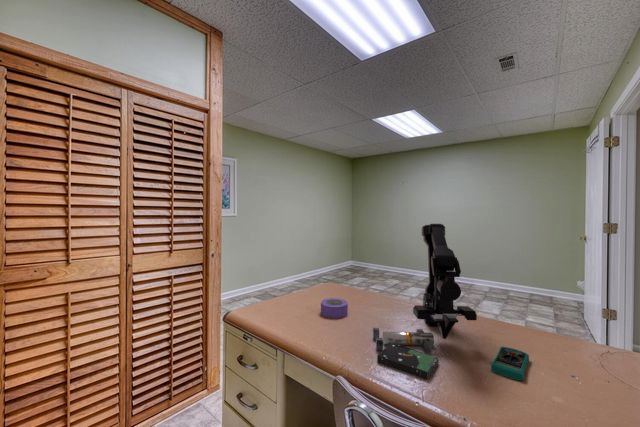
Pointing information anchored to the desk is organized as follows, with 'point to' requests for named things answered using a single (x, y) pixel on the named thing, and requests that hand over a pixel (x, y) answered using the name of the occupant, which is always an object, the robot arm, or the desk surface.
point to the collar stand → (380, 341)
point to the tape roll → (334, 308)
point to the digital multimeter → (510, 363)
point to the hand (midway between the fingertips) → (443, 338)
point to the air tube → (407, 338)
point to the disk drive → (408, 360)
